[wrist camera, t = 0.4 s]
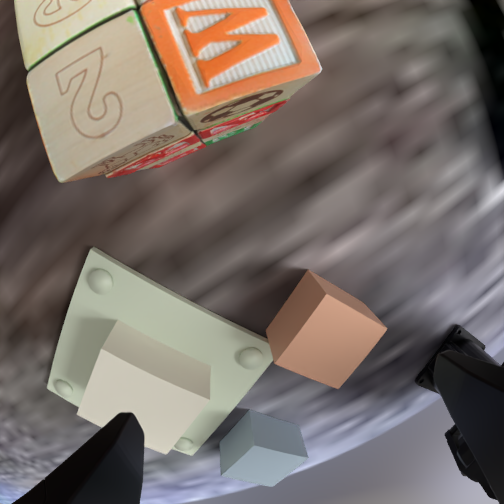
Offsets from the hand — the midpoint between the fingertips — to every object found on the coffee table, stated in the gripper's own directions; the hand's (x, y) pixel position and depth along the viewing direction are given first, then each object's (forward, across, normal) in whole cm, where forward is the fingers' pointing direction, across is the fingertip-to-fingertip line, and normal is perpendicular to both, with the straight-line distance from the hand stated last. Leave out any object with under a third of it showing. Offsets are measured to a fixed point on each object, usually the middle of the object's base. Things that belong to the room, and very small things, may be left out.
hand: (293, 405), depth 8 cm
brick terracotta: (+12, -3, +4) cm, 14 cm away
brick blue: (+13, +2, +15) cm, 20 cm away
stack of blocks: (+12, +4, -18) cm, 22 cm away
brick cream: (+11, +9, +7) cm, 16 cm away
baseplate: (+12, +9, +7) cm, 17 cm away
